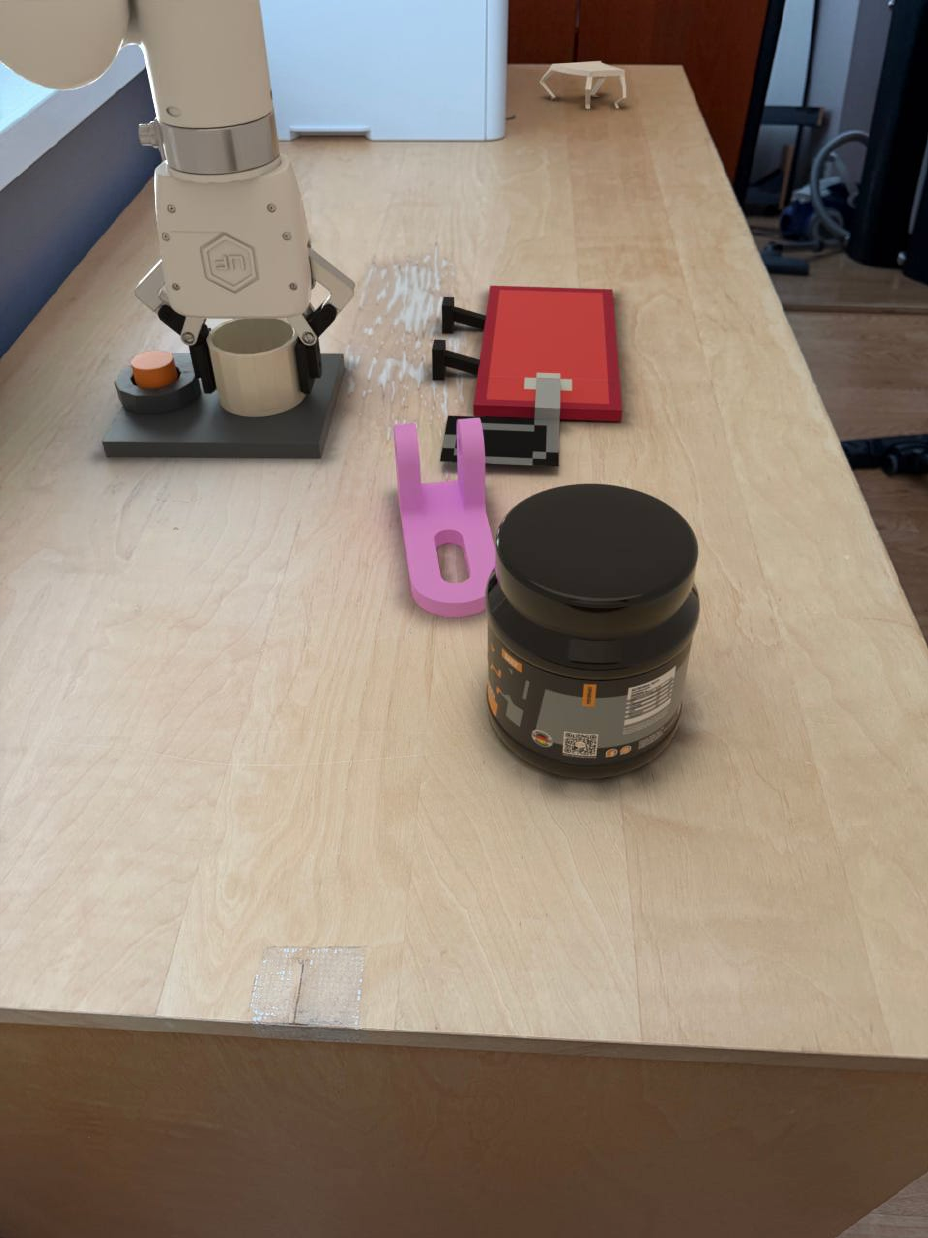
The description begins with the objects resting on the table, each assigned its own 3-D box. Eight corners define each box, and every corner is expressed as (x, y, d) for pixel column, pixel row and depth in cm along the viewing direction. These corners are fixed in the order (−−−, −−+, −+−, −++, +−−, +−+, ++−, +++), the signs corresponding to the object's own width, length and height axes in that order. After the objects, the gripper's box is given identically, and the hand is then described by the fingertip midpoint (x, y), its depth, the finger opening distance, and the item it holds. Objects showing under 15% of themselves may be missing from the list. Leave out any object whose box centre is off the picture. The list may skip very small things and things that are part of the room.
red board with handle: (413, 471, 74) (624, 480, 74) (412, 437, 73) (628, 445, 72) (449, 298, 97) (611, 303, 96) (449, 269, 95) (613, 274, 94)
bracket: (398, 502, 72) (392, 413, 68) (478, 495, 73) (477, 406, 68) (415, 624, 62) (409, 531, 58) (507, 615, 63) (508, 522, 58)
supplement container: (522, 631, 62) (526, 459, 54) (698, 674, 59) (729, 498, 51) (456, 756, 55) (450, 579, 47) (653, 813, 52) (683, 633, 44)
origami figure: (625, 96, 146) (628, 57, 143) (625, 113, 140) (628, 73, 137) (540, 94, 147) (541, 56, 144) (536, 112, 141) (537, 72, 138)
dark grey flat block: (99, 460, 77) (88, 422, 75) (150, 369, 88) (141, 334, 85) (321, 461, 76) (316, 423, 74) (345, 370, 87) (341, 334, 85)
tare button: (130, 390, 79) (125, 369, 78) (142, 370, 82) (137, 349, 80) (172, 390, 79) (167, 369, 78) (182, 370, 81) (178, 349, 80)
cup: (209, 416, 78) (197, 355, 75) (228, 373, 83) (217, 314, 80) (299, 417, 78) (290, 356, 75) (312, 373, 83) (305, 314, 80)
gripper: (72, 161, 66) (137, 409, 78) (344, 159, 65) (367, 410, 77) (108, 125, 72) (163, 362, 83) (358, 123, 71) (378, 362, 83)
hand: (260, 383), depth 80 cm, fingers closed on cup, 6 cm apart
